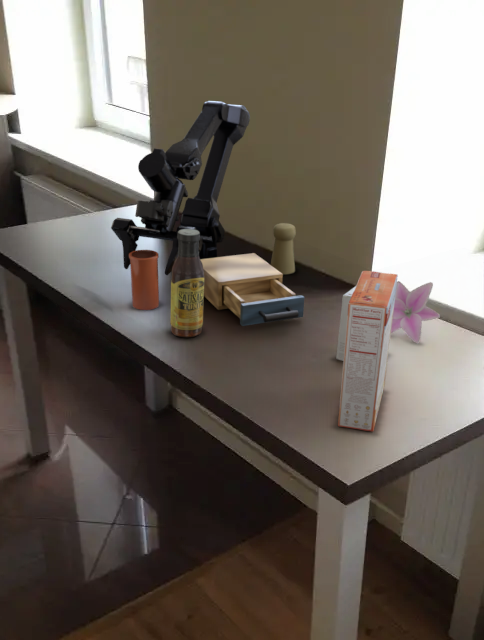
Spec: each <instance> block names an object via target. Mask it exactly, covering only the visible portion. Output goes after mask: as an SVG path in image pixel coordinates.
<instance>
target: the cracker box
mask: <svg viewBox="0 0 484 640" xmlns="http://www.w3.org/2000/svg"><path fill="white" fill-rule="evenodd" d="M398 277H399V276H398V274H397V273H389V272H388V273H387V272H379V271H373V270H362V271H361V273H360V275H359V278H358V281H357V283H356V285H355V286H356V287H355V286H354V287H355V290H354V292H353V294H352V296H351V299H350V301H349V304H348V315H347V326H346V339H345V350H344V361H343V362H342V374H341V384H340V395H339V396H340V398H339V410H338V418H337V419H338V422H337V426H338V427H340V428H347V429H353V430H360V431H366V432H374V430H375V427H376V423H377V419H378V415H379V411H380V407H381V402H382V398H383V395H384V391H385V384H386V383H385V382H386V376H387V375H386V374H387V368H388V367H387V366H388V358H389V351H390V350H389V349H390V343H391V335H392V333H391V327H392V319H393V311H394V303H395V295H396V286H397V281H398Z"/></svg>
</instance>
